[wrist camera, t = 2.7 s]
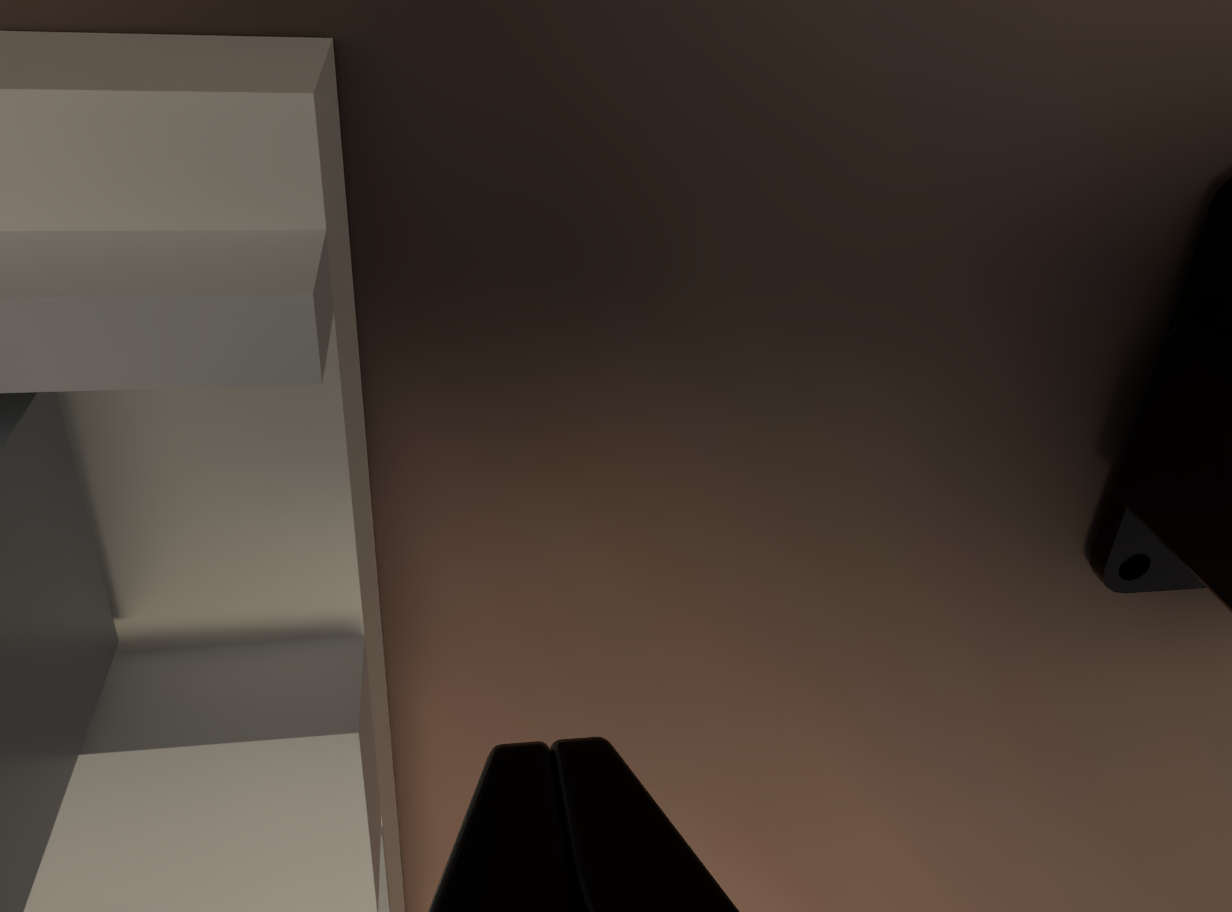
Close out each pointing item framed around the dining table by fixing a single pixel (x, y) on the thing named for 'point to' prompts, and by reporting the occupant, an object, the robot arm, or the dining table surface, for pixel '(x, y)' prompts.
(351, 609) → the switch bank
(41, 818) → the switch tab
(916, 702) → the dining table surface
